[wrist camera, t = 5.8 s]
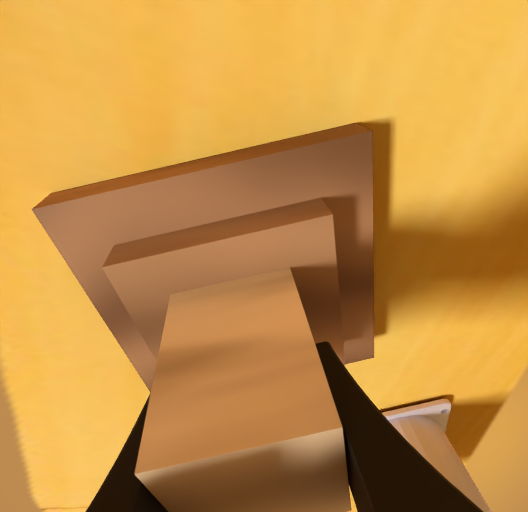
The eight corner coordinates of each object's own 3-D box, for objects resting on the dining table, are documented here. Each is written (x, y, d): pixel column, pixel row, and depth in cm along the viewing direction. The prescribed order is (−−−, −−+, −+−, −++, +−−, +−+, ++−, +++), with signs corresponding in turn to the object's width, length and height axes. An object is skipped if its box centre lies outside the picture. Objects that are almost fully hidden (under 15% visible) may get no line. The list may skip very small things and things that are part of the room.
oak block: (304, 348, 14) (351, 510, 9) (205, 371, 14) (198, 544, 9) (289, 267, 12) (342, 427, 7) (170, 294, 12) (134, 474, 7)
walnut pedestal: (363, 337, 19) (386, 381, 16) (163, 382, 19) (155, 433, 16) (356, 122, 12) (392, 140, 10) (50, 193, 12) (7, 229, 10)
